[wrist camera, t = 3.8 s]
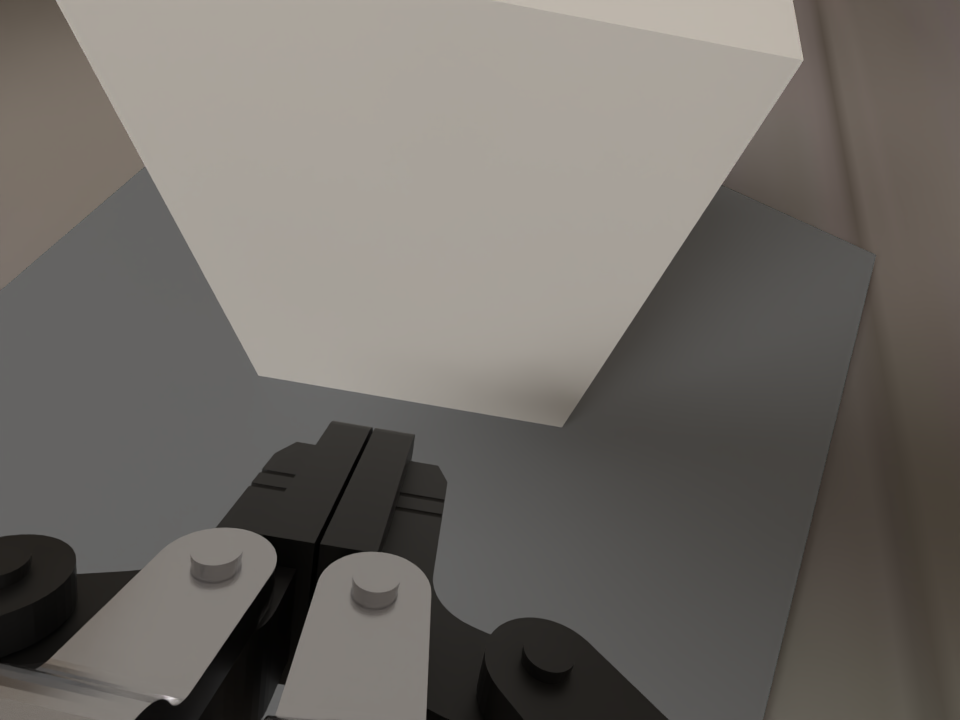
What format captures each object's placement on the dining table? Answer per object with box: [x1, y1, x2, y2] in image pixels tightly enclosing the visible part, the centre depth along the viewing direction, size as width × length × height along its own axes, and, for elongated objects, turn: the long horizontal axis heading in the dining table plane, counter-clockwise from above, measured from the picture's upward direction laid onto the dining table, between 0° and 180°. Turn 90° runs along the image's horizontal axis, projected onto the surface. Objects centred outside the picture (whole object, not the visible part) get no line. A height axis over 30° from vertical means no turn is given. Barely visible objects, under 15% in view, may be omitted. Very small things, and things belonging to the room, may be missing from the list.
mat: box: [0, 167, 876, 720], centre depth 18 cm, size 24×24×1 cm
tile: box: [56, 0, 803, 427], centre depth 12 cm, size 2×9×12 cm, turn 81°
